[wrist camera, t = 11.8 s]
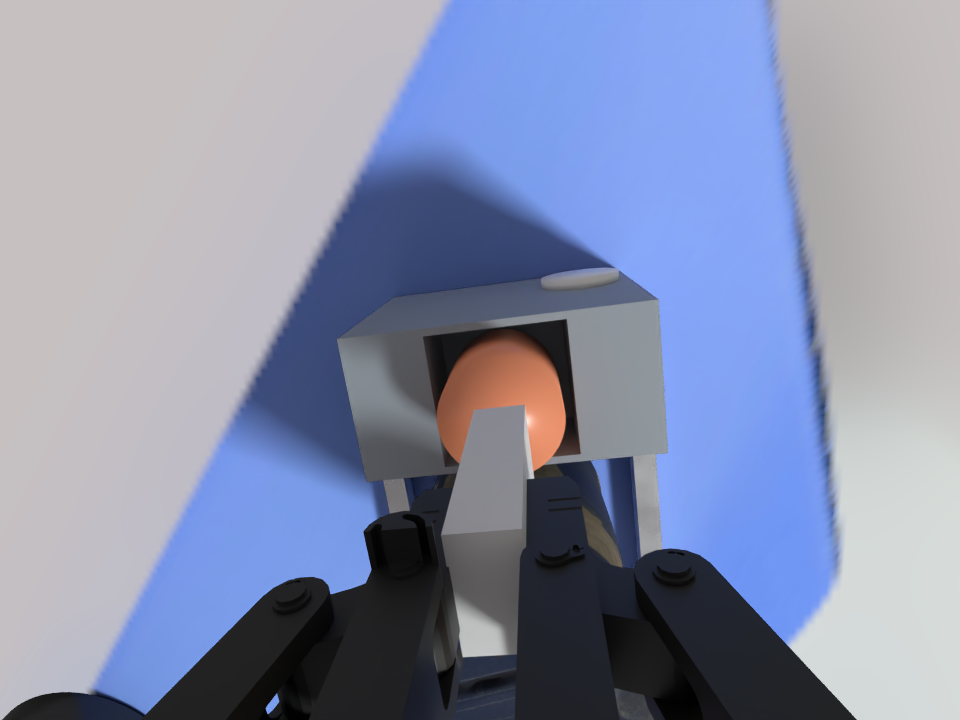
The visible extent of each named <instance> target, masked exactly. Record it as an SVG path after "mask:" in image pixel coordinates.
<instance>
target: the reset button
mask: <svg viewBox="0 0 960 720" xmlns="http://www.w3.org/2000/svg"><path fill="white" fill-rule="evenodd" d="M516 405H525V410H526V418H527V426H528V434H529V441H530V449H531V457H532V465H533V471H535V470H537V469H538V468H540V467H541V466H543V465H544V464H545V463H546V462H547V461H548V460H549V459H550V458H551V457H552V456H553V455H554V453H555V452H556V451H557V449H558V447H559V445H560V443H561V441H562V438H563V435H564V431H565V424H566V415H565V408H564V403H563V398H562V393H561V387H560V382H559V377H558V372H557V367H556V364H555V362H554V359H553V357H552V355H551V354H550V352H549V351H548V350H547V348H546V347H545V346H544V345H543V344H542V343H541V342H539V341H538V340H537V339H535V338H534V337H532V336H530V335H528V334H526V333H524V332H521V331H517V330H512V329H498V330H492V331H489V332H486V333H483V334H481V335H479V336H477V337H476V338H474V339H473V340H471V341H470V342H469V343H468V344H467V345H466V346H465V347H464V348H463V349H462V351H461V352H460V354H459V356H458V358H457V360H456V362H455V364H454V366H453V369H452V371H451V373H450V376H449V378H448V381H447V383H446V385H445V388H444V390H443V392H442V395H441V397H440V400H439V403H438V409H437V426H438V431H439V435H440V437H441V440H442V442H443V444H444V446H445V448H446V449H447V451H448V452H449V453H450V455H451V456H452V457H453V458H454V459H455V460H456V461H457V462H458V463H459V464H460V461H461V457H462V453H463V449H464V446H465V442H466V438H467V434H468V430H469V427H470V423H471V419H472V415H473V411H474V410H477V409H487V408H497V407H506V406H516Z"/></svg>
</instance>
